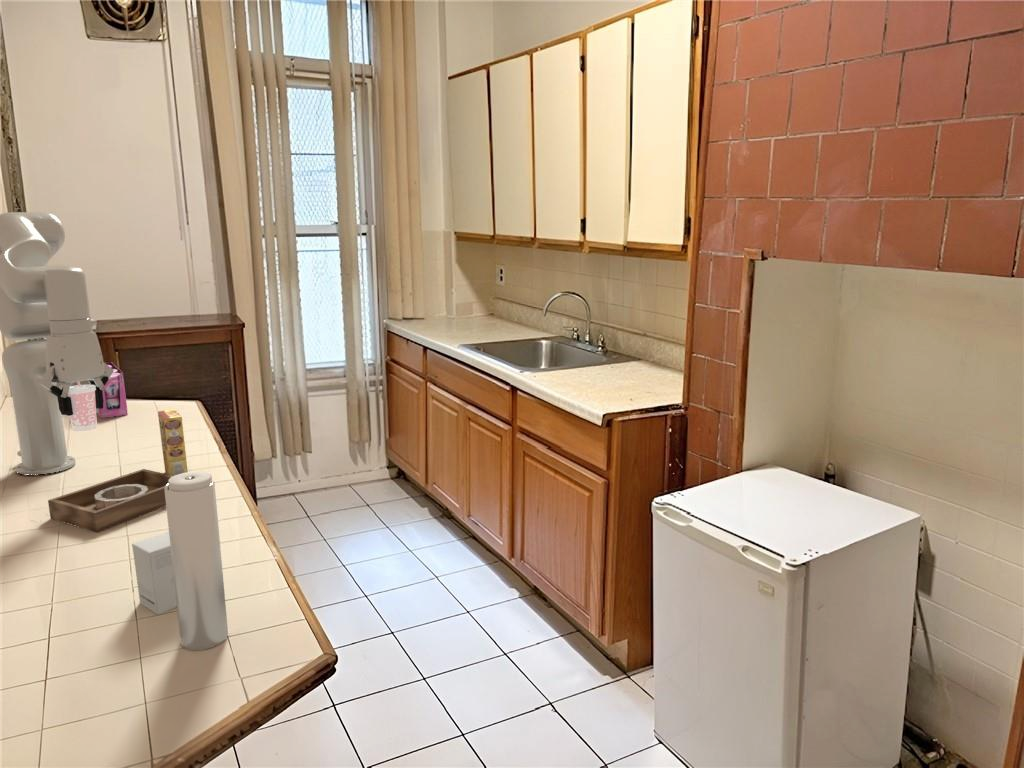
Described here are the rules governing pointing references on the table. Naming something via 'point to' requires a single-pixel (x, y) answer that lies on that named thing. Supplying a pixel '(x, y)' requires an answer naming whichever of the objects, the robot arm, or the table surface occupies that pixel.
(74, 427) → the beverage cup
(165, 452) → the candy box
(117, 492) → the socket ring
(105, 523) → the walnut box
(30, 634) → the table surface
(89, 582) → the table surface
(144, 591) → the skincare box
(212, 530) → the white tall cylinder
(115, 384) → the gum box
